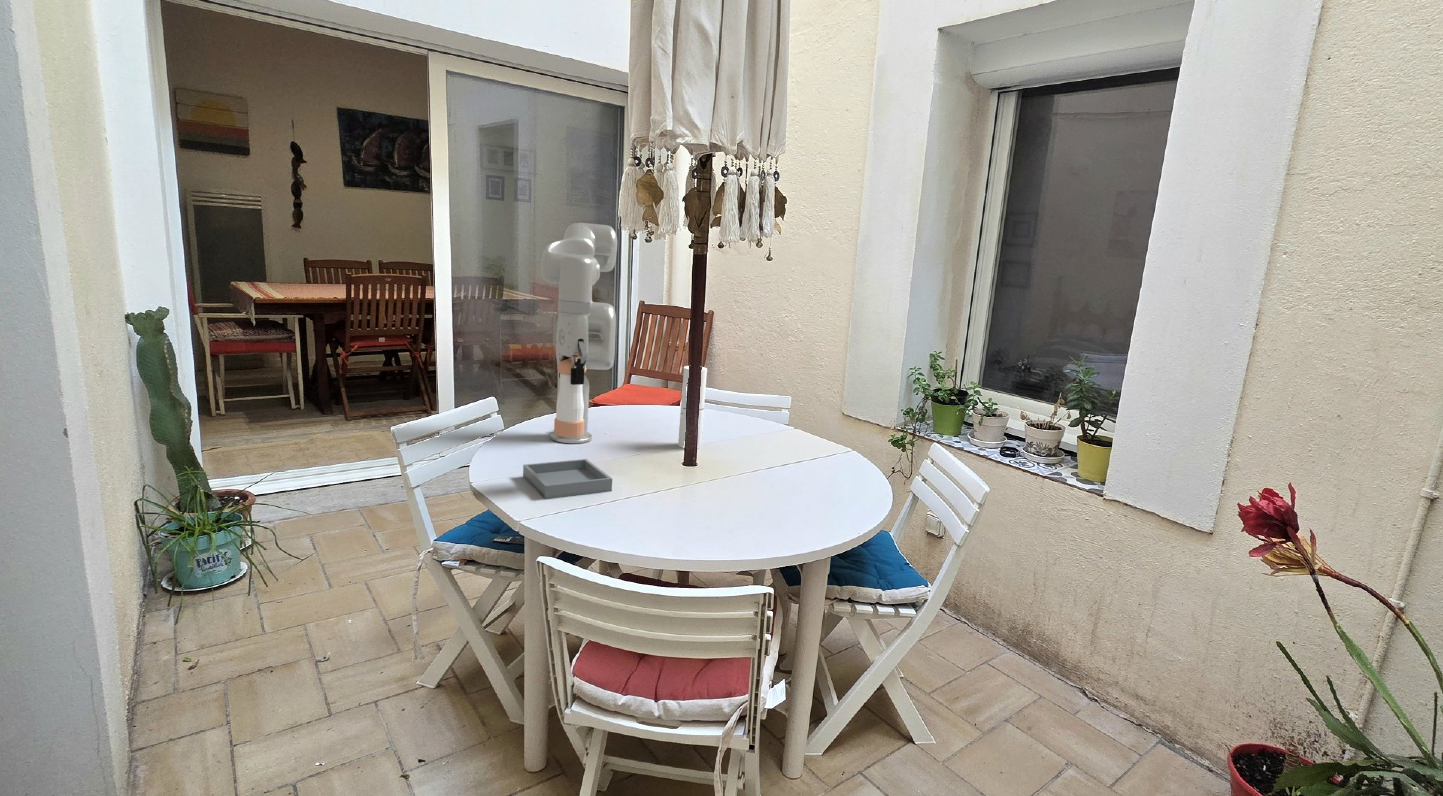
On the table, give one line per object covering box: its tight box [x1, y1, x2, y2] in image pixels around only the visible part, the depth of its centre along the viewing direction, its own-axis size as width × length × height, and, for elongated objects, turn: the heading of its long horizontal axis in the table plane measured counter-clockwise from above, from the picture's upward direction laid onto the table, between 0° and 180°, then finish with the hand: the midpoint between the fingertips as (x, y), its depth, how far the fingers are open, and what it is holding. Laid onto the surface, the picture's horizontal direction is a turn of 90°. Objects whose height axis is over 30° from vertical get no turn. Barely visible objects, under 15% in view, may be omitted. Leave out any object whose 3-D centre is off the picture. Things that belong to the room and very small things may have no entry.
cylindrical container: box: [677, 365, 708, 449], centre depth 217 cm, size 7×7×25 cm
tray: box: [522, 458, 613, 500], centre depth 176 cm, size 17×17×3 cm
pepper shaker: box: [553, 357, 588, 437], centre depth 172 cm, size 7×7×19 cm
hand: (571, 380), depth 171 cm, fingers closed on pepper shaker, 7 cm apart
